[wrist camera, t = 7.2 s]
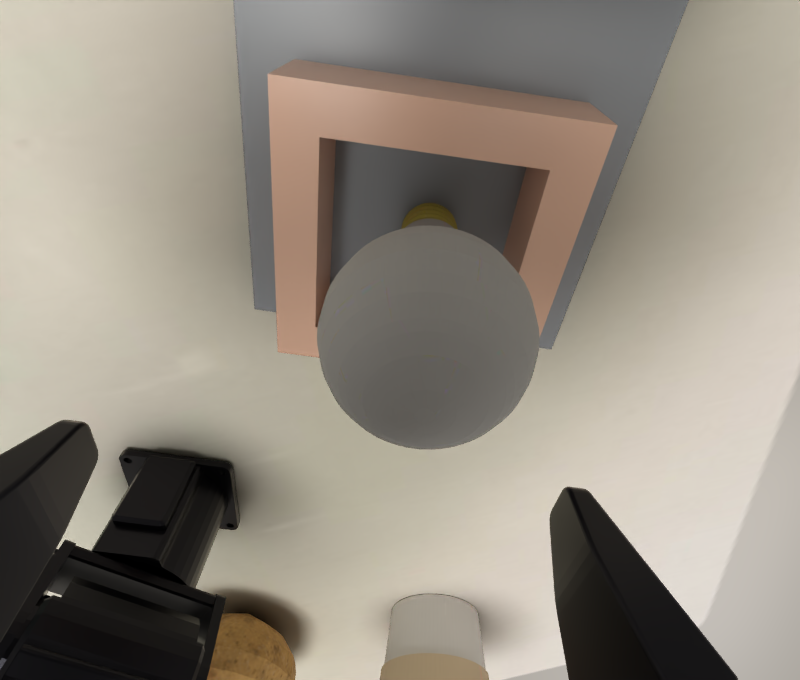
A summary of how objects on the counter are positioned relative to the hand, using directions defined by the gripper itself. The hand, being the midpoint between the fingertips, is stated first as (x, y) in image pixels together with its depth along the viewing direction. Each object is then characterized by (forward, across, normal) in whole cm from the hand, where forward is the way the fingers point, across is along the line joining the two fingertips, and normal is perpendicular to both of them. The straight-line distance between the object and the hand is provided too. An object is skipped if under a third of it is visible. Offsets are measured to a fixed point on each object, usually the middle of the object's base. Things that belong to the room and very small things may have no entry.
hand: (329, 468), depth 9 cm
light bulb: (+12, -2, 0) cm, 12 cm away
